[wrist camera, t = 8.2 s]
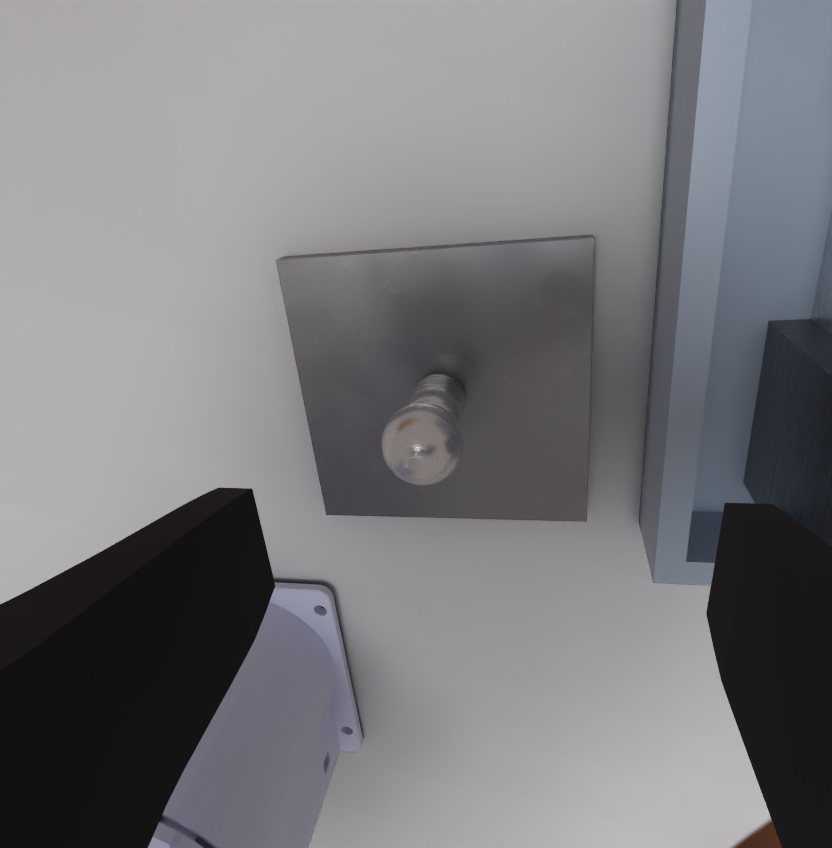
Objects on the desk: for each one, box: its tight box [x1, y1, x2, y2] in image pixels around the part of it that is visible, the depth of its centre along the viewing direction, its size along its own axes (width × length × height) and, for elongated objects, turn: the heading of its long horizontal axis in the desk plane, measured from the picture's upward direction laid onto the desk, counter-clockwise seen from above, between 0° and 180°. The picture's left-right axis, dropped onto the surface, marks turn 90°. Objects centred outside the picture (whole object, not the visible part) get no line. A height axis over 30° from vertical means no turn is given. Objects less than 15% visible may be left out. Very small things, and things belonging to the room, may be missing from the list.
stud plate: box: [276, 235, 594, 522], centre depth 17 cm, size 9×9×5 cm
